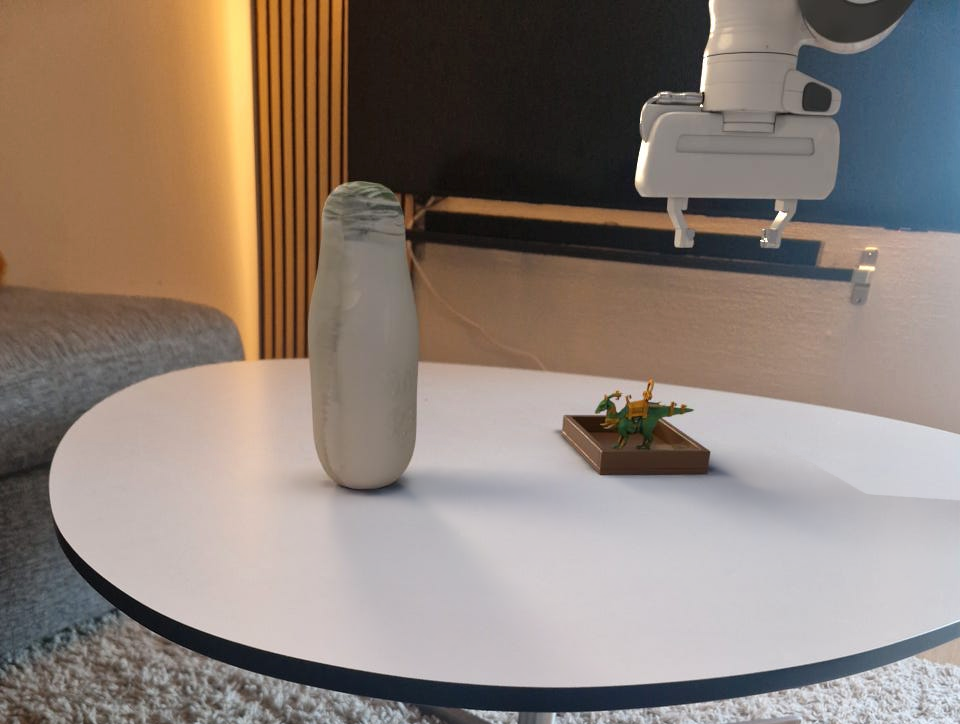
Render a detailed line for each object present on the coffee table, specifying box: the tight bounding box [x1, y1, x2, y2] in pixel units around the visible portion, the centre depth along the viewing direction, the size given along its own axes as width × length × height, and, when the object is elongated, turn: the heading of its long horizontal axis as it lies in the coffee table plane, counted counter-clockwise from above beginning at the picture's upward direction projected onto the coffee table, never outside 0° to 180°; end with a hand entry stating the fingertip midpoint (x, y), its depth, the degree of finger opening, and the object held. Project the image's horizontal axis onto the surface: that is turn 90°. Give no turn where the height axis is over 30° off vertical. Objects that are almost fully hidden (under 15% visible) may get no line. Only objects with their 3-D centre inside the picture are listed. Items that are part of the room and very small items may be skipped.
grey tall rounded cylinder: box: [307, 180, 420, 490], centre depth 89 cm, size 10×10×28 cm
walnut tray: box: [561, 414, 711, 475], centre depth 110 cm, size 18×13×3 cm
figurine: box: [594, 379, 695, 450], centre depth 109 cm, size 3×12×8 cm, turn 98°
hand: (726, 247), depth 96 cm, fingers open, 8 cm apart
